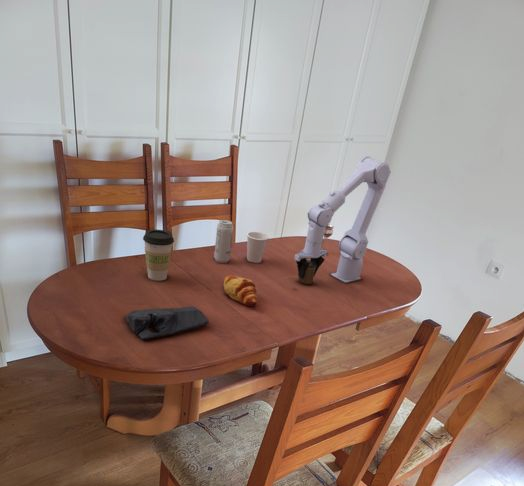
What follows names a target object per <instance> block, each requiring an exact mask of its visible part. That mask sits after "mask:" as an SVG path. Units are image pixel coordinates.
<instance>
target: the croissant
mask: <svg viewBox="0 0 524 486" xmlns="http://www.w3.org/2000/svg"><path fill="white" fill-rule="evenodd" d="M223 281H224V282H223V289H224V294H225V295H227V296H229V297H230V299H232V300H233V301H236V302H239V303H241V304H242V305H244V306H247V307H255V306H257V305H258V296H257V289H256V284H255V283H254V282H253V280H251V279H248V278H245V277H240V276H237V275H232V274H230V275H227V276H225V277H224V280H223Z"/></svg>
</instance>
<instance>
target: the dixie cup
mask: <svg viewBox="0 0 524 486" xmlns="http://www.w3.org/2000/svg"><path fill="white" fill-rule="evenodd" d="M246 236H247V238H246V239H247V244H246V245H247V246H246V247H247V248H246V260H247V261H248V262H250V263H255V264H259V263H261V262H262V259H263V257H264V253H265V249H266V246H267V242H268V240H269V235H267V234H266V233H263V232H260V231H249V232H247V234H246Z"/></svg>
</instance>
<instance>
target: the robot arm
mask: <svg viewBox="0 0 524 486" xmlns="http://www.w3.org/2000/svg"><path fill="white" fill-rule="evenodd" d="M390 168H391V167H390V165H389V164H388V163H387V162H384V161H381V160H378V159H376V158H373V157H371V156H364V157H363V158H361V160H360V161H359V162H358V163H357V164H356V167H355V171H353V173H352V174H351V175H350V176H349V177H348V179H346V181H345V182H344V183H343V184H342V185H341V186H340V187H339V188H338V189H333V190H331V191H330V192H329V193H328V195H327V196H326V197H325V198H324V199H323V200H322V201H321V202H320V203H319V204H317V205H314V206H312V207H311V208H310V209H309V211H308V212H307V219H308V229H307V234H306V239H305V242H304V243H305V244H304V248H302V249H301V251H300V252H299V253H295V254H294V260H295V262H296V265H297V266H296V267H297V274H298V278H299V277H300V278H302V279H303V278H304V276H305V273H306V270H307V267H308V266H309V264H310V263H309V262H307V260H311V261H314V262H315V263H316V264H317V266H316V268H315V273H314V277H315V276H316V274H317V272H318V270H319V268H320V267H321V265H322V264H323V263H324V262H325V257H327V253H328V251H327V250H326V249H323V248H322V249H321V245H322V241H323V236H324V232H325V227H326V225H328V224H331V221H332V220H333V219H332V218H333V217H334V215H335V213H336V212H337V211H338V210H339V209H340V208H341V207H342V206H343V205H344V204H345V203H346V198H347V196H349V195H350V194H351V193H352V192H353V191H354V190H355V189H358V187H359V186H361V185H362V183H366V184H367V190H366V192H365V195H364V198H363V200H362V202H361V204H360V206H359V207H360V208H359V209H358V212H357V214H356V217H355V220H354V222H353V225H352V227H351V229H348V230H346V231H345V232H344V234H343V236H342V237H341V239H340V240H339V242H338V249H339V250H340V251H339V253H340V255H339V258H338V259H339V260H338V264H337V268H336V272H332V273H330V275H331V276H332V277H334V278H336V279H338V280H340V281H342V282H343V283H345V284H346V283H351V282H355V281H359V280H361V279H362V277H360V276H361V273H362V268H363V265H364V259H363V258H364V256H365V255H366V253H367V247H368V243H369V240H368V237H367V235H366V233H367V231H368V229H369V226H370V225H371V222H372V219H373V217H374V215H375V212H376V210H377V207H378V206H379V203H380V201H381V198H382V196H383V193H384V191H385V188H386V185H387V182H388V180H389V177H390V174H391V169H390ZM322 246H323V245H322Z"/></svg>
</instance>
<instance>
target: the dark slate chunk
mask: <svg viewBox="0 0 524 486" xmlns="http://www.w3.org/2000/svg"><path fill="white" fill-rule="evenodd" d="M125 320H126V323H127V324H128V325H129V328H130V330H131V331H132V332H133V334H135V335H137V336H138V338H140V339H141V340H144V341H145V340H150V339H152V338H163V337H166V336H167V337H168V336H172V335H174V334H179V333H185V332H188V331H192V330H197V329H198V328H200V327H203V326H206V325H208V324H209V319H208V317H207V316H206V315H205V314H204V313H203V312H202V310H200V309H199V308H197V307H196V306H193V305H191V306H186V307H181V308H180V307H179V308H167V307H166V308H165V307H164V308H150V309H149V308H148V309H137V310H132V311H130V312H129V314H128V315H127V316H125ZM150 328H153V329H154V331H155V332H152V331H151V330H150Z"/></svg>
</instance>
